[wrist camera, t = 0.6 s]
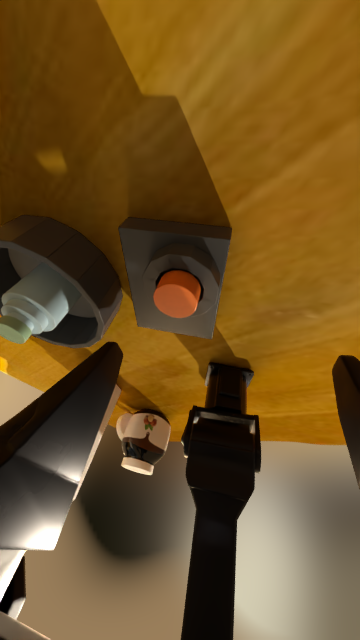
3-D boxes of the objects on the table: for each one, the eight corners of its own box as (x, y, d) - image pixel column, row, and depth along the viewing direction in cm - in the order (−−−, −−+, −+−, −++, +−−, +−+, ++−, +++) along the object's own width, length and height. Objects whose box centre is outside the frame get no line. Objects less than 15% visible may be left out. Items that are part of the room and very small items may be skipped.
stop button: (199, 306, 20) (195, 321, 18) (160, 300, 20) (154, 314, 19) (202, 272, 17) (198, 287, 16) (158, 266, 18) (151, 280, 16)
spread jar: (177, 419, 52) (164, 476, 44) (158, 427, 60) (145, 477, 52) (132, 399, 50) (110, 457, 42) (119, 411, 58) (98, 461, 50)
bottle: (90, 299, 28) (47, 355, 22) (52, 293, 28) (1, 346, 22) (76, 262, 24) (18, 318, 18) (32, 256, 24) (-37, 308, 19)
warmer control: (214, 325, 26) (210, 352, 24) (143, 313, 28) (132, 337, 25) (232, 227, 18) (228, 251, 15) (128, 216, 19) (108, 237, 16)
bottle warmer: (130, 327, 30) (115, 356, 27) (39, 311, 32) (15, 336, 29) (105, 223, 20) (76, 250, 17) (-27, 209, 22) (-77, 230, 19)
